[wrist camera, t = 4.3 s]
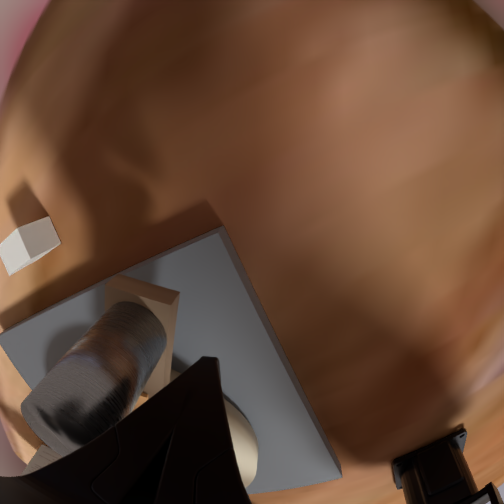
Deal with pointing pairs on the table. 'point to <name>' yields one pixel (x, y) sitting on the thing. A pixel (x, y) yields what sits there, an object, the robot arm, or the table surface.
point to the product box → (41, 459)
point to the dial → (119, 374)
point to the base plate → (192, 345)
